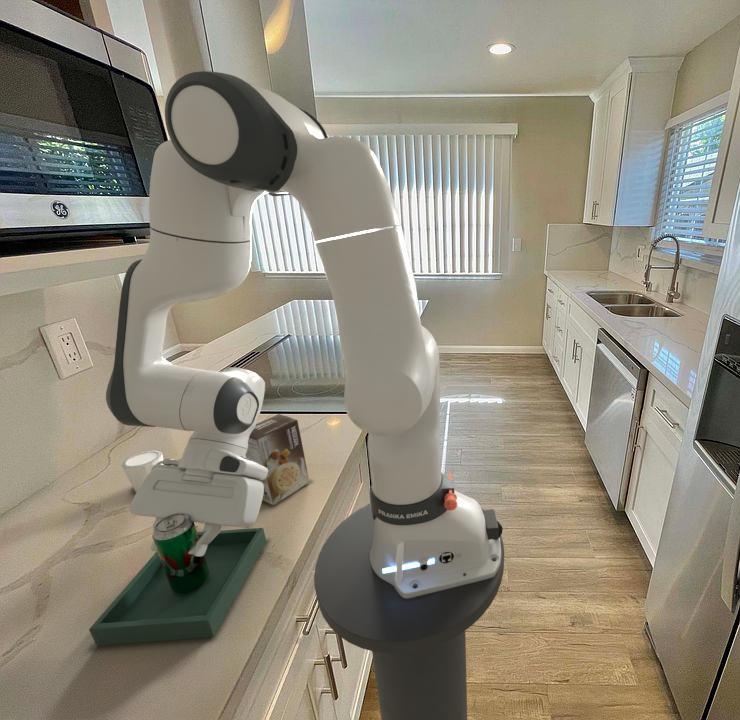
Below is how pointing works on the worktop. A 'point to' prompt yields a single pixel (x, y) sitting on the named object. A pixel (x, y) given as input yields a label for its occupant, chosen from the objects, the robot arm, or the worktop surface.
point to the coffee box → (279, 456)
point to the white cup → (141, 466)
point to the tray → (181, 595)
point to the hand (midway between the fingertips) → (177, 553)
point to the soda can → (179, 553)
